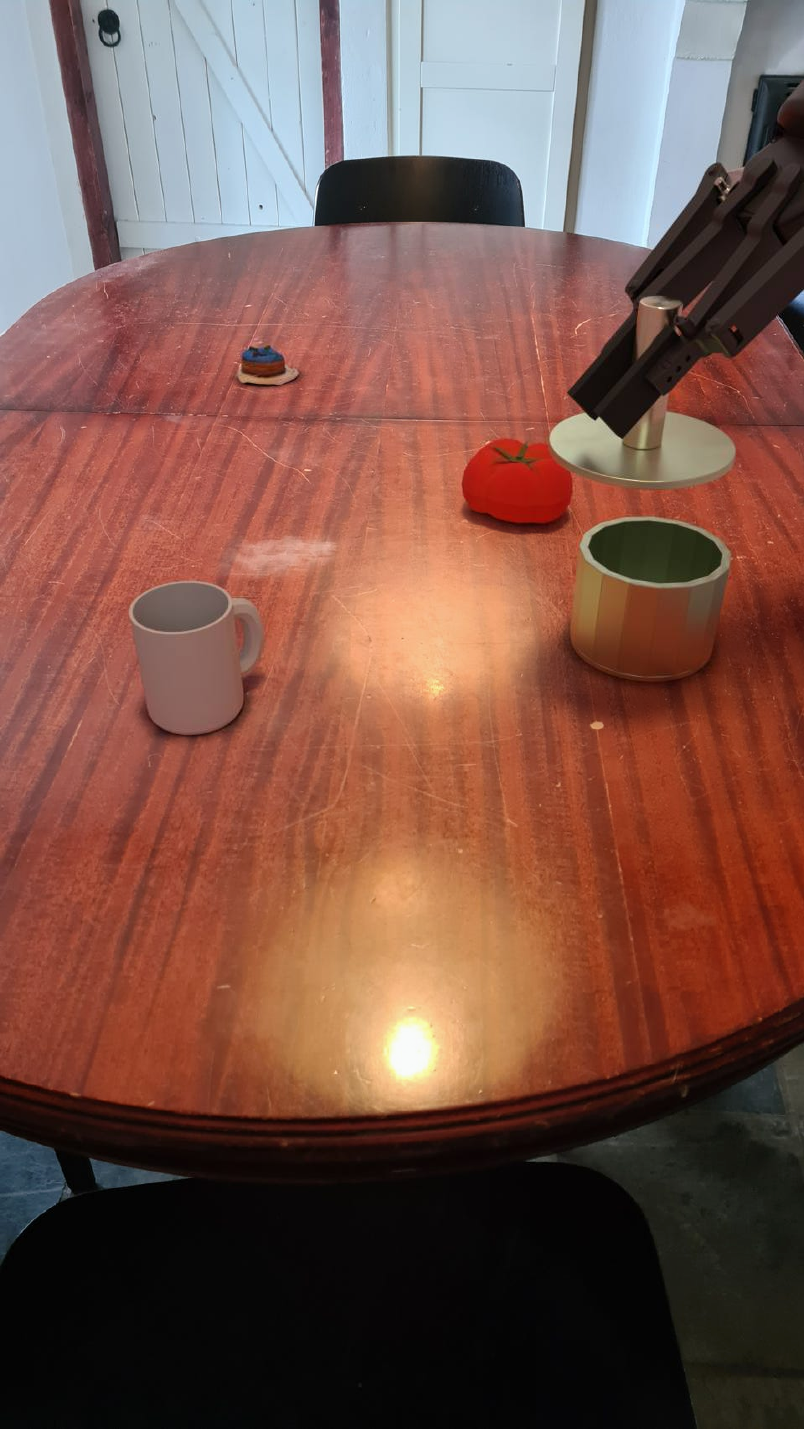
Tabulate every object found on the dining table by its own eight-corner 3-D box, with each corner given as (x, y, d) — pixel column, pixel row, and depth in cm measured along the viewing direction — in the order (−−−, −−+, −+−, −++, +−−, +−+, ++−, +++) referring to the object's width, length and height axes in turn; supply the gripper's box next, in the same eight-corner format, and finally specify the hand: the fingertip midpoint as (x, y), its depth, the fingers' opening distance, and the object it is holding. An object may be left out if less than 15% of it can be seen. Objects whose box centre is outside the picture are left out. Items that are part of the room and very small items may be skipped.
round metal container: (705, 693, 79) (725, 597, 74) (558, 667, 82) (568, 573, 77) (716, 617, 88) (735, 527, 83) (583, 597, 91) (593, 508, 86)
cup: (130, 704, 78) (110, 603, 73) (242, 656, 84) (231, 559, 78) (178, 750, 74) (160, 646, 69) (293, 697, 79) (285, 596, 74)
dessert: (224, 377, 133) (235, 332, 133) (244, 392, 139) (255, 349, 139) (280, 389, 131) (292, 343, 131) (298, 404, 138) (309, 360, 137)
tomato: (477, 485, 109) (480, 425, 105) (580, 500, 106) (586, 439, 102) (449, 525, 102) (450, 462, 98) (558, 543, 99) (564, 479, 95)
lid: (726, 510, 63) (760, 342, 57) (530, 485, 66) (542, 322, 60) (738, 435, 72) (768, 282, 66) (565, 416, 75) (579, 268, 69)
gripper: (995, 170, 57) (694, 497, 63) (807, 129, 69) (566, 408, 74) (952, 62, 53) (630, 426, 58) (758, 37, 64) (503, 342, 69)
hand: (594, 415), depth 66 cm, fingers closed on lid, 3 cm apart
